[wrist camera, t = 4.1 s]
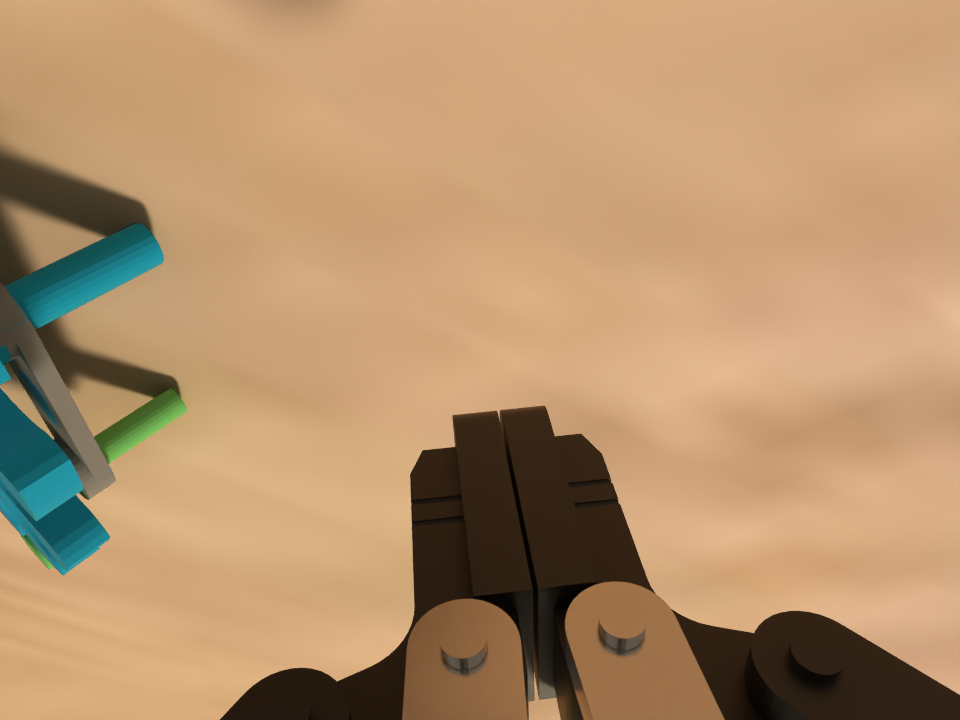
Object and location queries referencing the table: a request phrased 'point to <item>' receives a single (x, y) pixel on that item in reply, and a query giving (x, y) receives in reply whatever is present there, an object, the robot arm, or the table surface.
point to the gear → (65, 403)
